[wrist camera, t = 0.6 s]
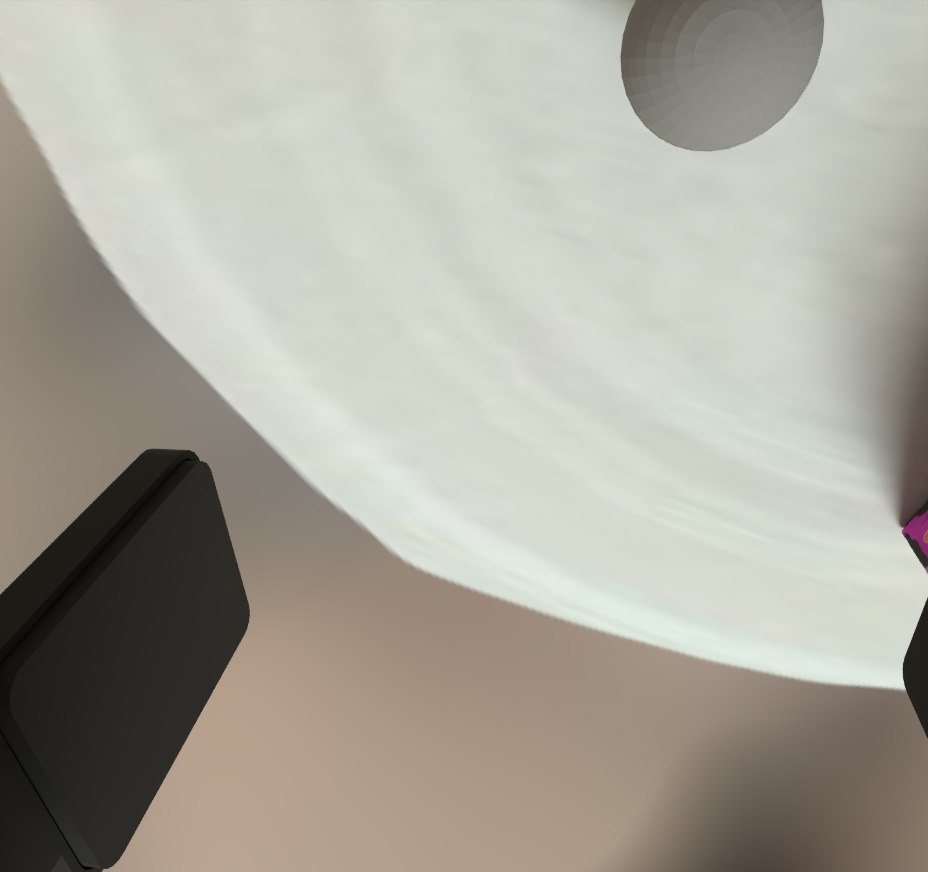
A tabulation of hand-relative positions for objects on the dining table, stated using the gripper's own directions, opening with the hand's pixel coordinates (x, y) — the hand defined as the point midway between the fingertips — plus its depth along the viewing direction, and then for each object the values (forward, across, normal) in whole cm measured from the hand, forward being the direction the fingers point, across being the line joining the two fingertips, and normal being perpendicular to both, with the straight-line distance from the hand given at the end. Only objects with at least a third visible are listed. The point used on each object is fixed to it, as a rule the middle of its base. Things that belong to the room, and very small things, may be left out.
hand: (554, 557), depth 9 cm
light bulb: (+27, -4, -5) cm, 27 cm away
